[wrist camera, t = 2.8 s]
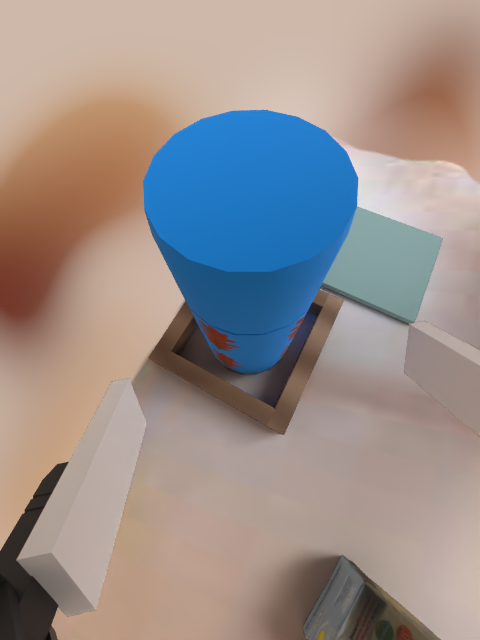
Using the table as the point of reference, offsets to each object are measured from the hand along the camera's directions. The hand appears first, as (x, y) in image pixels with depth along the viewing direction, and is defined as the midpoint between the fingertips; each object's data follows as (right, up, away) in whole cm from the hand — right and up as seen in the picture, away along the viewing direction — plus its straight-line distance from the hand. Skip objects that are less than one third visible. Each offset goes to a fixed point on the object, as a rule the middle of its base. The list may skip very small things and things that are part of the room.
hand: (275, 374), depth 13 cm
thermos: (0, 0, +24) cm, 24 cm away
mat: (+18, +11, +27) cm, 35 cm away
